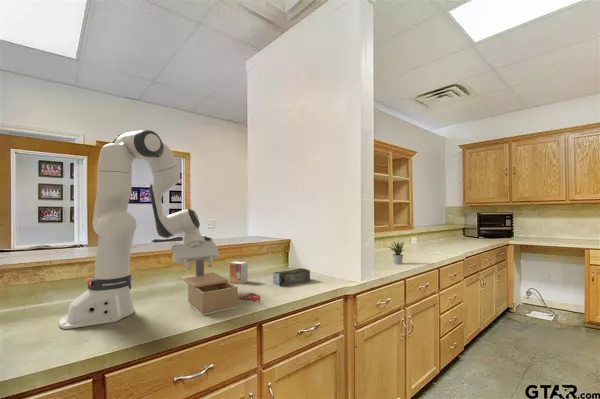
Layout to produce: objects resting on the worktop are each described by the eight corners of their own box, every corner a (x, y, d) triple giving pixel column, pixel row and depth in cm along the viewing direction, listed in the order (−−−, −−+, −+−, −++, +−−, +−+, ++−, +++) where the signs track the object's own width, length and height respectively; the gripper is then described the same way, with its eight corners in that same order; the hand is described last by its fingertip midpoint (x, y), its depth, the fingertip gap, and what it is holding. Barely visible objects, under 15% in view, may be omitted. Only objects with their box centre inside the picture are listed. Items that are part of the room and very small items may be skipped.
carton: (202, 315, 109) (202, 293, 109) (188, 302, 123) (188, 283, 123) (237, 307, 117) (237, 287, 117) (220, 296, 131) (220, 278, 132)
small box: (229, 282, 156) (229, 262, 157) (236, 280, 161) (236, 260, 162) (241, 284, 153) (241, 263, 153) (247, 281, 158) (247, 262, 158)
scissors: (267, 310, 115) (267, 306, 115) (237, 298, 129) (237, 295, 129) (282, 305, 120) (282, 302, 120) (251, 295, 135) (251, 291, 135)
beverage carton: (272, 283, 154) (272, 271, 155) (303, 279, 165) (303, 267, 165) (279, 287, 148) (279, 273, 148) (311, 281, 158) (311, 269, 158)
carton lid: (193, 287, 116) (193, 267, 117) (180, 278, 131) (181, 260, 132) (228, 282, 125) (228, 263, 125) (212, 274, 140) (213, 257, 140)
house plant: (395, 260, 217) (394, 238, 218) (412, 263, 207) (412, 240, 207) (383, 263, 208) (383, 240, 209) (401, 266, 198) (401, 241, 198)
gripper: (171, 240, 133) (177, 265, 125) (215, 237, 145) (223, 260, 137) (169, 249, 137) (174, 274, 128) (212, 246, 149) (219, 268, 141)
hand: (200, 267), depth 133 cm, fingers open, 8 cm apart
